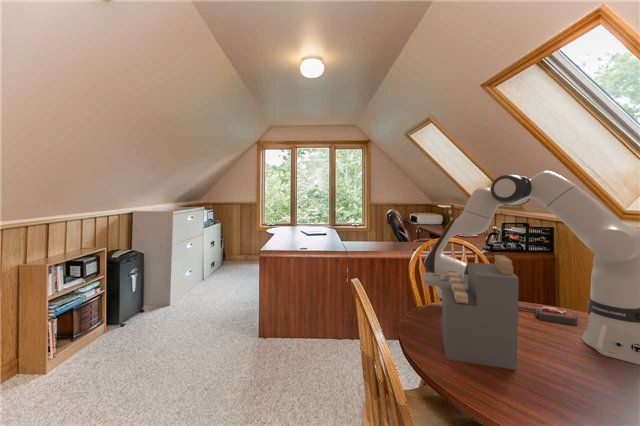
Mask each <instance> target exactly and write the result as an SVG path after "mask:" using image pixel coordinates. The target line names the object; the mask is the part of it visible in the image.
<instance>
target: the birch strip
mask: <svg viewBox="0 0 640 426" xmlns="http://www.w3.org/2000/svg"><path fill="white" fill-rule="evenodd" d="M448 275H449V278H448V279H449V282H450V285H451V288H452V291H453V294H454V297H455V300H456V302H459V303H468V295H467V293H466V291H465V289H464V287H463V284H462V282H461V280H460V278H459V276H458V274H457V271H448Z"/></svg>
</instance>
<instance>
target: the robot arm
mask: <svg viewBox="0 0 640 426" xmlns="http://www.w3.org/2000/svg"><path fill="white" fill-rule="evenodd" d="M531 199H532V200H535V201H536V202H538V203H539V204H540V205H542V207H544V208H545V209H546V210H547V211H548V212H550V213H551V214H552V215H553V216H554V217H556V218H557V219H559V221H561V222H562V223H563V224H565V226H566V227H568V229H570V231H571V232H572V233H573V235H575V236H576V237H577V238H578V239H579V240H580V241H581V242H582V243H583V244H584V246H586V247H587V248H588V249H589V250H590V251H591V252H592V253H593V254H594V256H593V263H592V269H591V273H590V275H591V277H590V296H589V297H588V300H587V316H588V318H587V322H586V323H587V324H586V327H585V330H584V332H583V335H582V337H581V339H582V341H583V343H585V344H586V345H587V346H590V348H593V349H594V350H596V351H597V352H598V353H600V354H601V355H602V356H605V357H610V358H612V359H615V360H621V361H624V362H627V363H632V364H635V365H638V366H640V228H639V227H638V226H636V225H633V224H631V223H628V222H622V221H621V220H620V219H619V218H618V217H616V216H615V215H614V214H613V213H612V212H611V211H609V210H608V209H607V208H606V207H605V206H604V205H602V204H601V203H600V202H599V201H598V200H597V199H595V198H594V197H593V196H592V195H590V194H589V193H587V192H586V191H585V190H583V189H582V188H580V187H579V186H578V185H577V184H575V183H574V182H572V181H570V180H569V179H567V178H565V177H563V176H562V175H560V174H559V173H557V172H554V171H551V170H544V171H543V170H542V171H541V172H538V173H537V174H535V175H534V176H531V178H528V176H522V175H517V174H503V175H500V176H498V177H497V178H495V179H494V180H493V181H492V183H491V185H490V187H486V186H485V187H484V186H482V187H481V186H480V187H478V188H475V190H474V191H473V192H472V193H471V195H470V197H469V198H468V201H466V205H465V206H464V209H463V211H462V213H461V214H460V216H458V217H457V218H453V219H451V220H450V221H449V222H448V223H447V225H446V226H445V228H444V230H443V231H442V232H441V235H440V236H439V238H438V239H437V241H436V242H435V243H434V246H433V248H432V249H431V250H430V251H429V253H428V254H426V256H425V258H424V260H423V266H424V269H425V270H426V272H422V280H421V282H422V283H423V284H424V285H425V286H428V287H436V294H437V295H438V297H439V298H440V299H441V300H442V287H451V285H450V282H449V279H448V278H449V275H448V271H457V274H458V276H459V278H460V280H461V282H462V284H463V287H464V289H468V263H467V262H465V261H462V260H460V259H458V258H455V257H452V256H449V255H447V254H445V253H443V250H444V249H445V248H446V246H447V244H448V243H449V241H450V239H451V238H453V237H455V236H459V235H460V236H464V235H465V236H467V235H469V236H473V235H480V234H482V233H484V232H486V231H488V229H489V227H490V225H491V223H492V222H493V219H494V217H495V214H496V212H497V210H498V209H499V208H500V207H501V206H512V207H513V206H522V205H525V204H526V203H528V202H529V201H530V200H531Z"/></svg>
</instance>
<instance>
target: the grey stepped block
mask: <svg viewBox="0 0 640 426" xmlns="http://www.w3.org/2000/svg"><path fill="white" fill-rule="evenodd" d="M467 264H468V289H465V291H466V293H467V295H468V303H459V302H456V300H455V297H454V294H453V291H452V288H451V287H442V299H441V337H442V338H441V339H442V344H443V350H444V355H445V360H450V361H456V362H462V363H467V364H475V365H481V366H487V367H488V366H489V367H494V368H502V369H507V370H515V371H517V370H518V369H517V367H518V364H517V363H518V362H517V360H518V331H519V330H518V327H519V325H518V323H519V319H518V318H519V309H518V306H519V281H520V280H519V279H520V278H519V276H517V275H516V274H515V273H514V265H512V264H513V260H511V259H510V258H509V257H507V256H506V255H504V254H502V255H501V254H495V255H494V263H485V262H483V263H482V262H470V261H469V262H468V263H467Z"/></svg>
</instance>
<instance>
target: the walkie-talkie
mask: <svg viewBox="0 0 640 426" xmlns="http://www.w3.org/2000/svg"><path fill="white" fill-rule="evenodd" d="M518 310H523V311H524V310H525V311H530V312H535V315H536V318H538V319H539V320H541V321H546V322H552V323H561V324H566V325H573V326H578V321H579V319H578V318H579V317H578V316H577V315H576V313H575V312H569V311H566V310H565V309H562V310H559V309H557V308H556V307H550V306H541V307H537V308H535V307H534V308H532V307H526V306H519V305H518Z"/></svg>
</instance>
